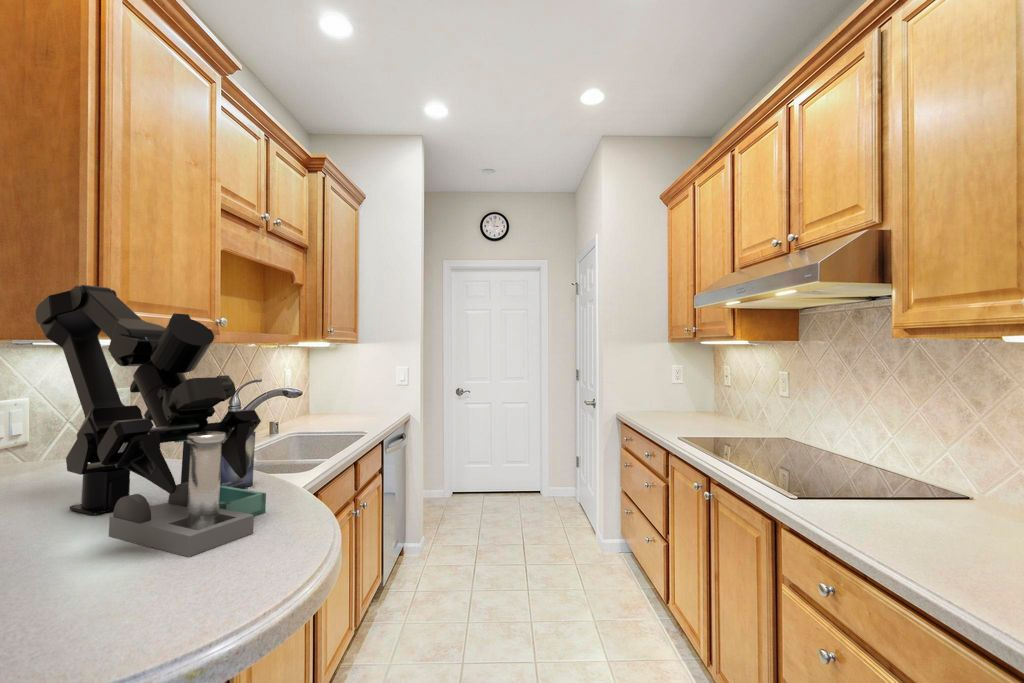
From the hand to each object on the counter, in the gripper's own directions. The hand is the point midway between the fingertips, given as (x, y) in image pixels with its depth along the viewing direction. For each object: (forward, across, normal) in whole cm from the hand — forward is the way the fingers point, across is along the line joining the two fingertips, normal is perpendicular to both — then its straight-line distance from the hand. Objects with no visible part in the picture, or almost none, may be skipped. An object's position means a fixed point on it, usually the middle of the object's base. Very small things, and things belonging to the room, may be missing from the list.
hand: (211, 483), depth 65 cm
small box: (-10, +15, +21) cm, 27 cm away
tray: (-1, +8, +12) cm, 14 cm away
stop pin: (+4, 0, +6) cm, 8 cm away
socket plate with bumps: (+2, 0, +9) cm, 9 cm away
